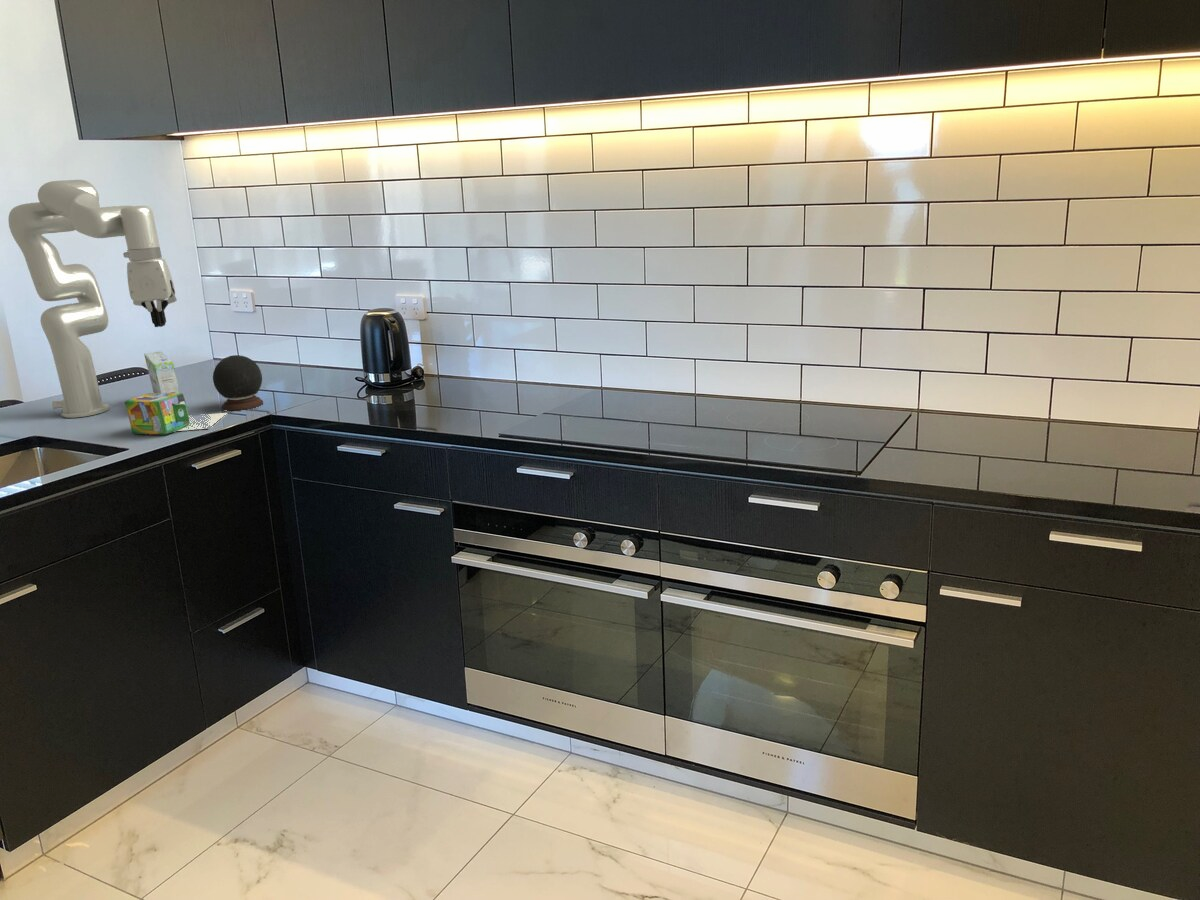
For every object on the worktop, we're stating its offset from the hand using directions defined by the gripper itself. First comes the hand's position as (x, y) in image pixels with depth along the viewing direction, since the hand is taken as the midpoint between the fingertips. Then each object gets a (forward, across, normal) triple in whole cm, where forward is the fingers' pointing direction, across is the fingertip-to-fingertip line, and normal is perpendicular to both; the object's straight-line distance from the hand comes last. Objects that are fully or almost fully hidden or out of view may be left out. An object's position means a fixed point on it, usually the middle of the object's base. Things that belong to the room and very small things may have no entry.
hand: (160, 326), depth 243 cm
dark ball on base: (+27, +12, +16) cm, 34 cm away
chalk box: (+22, -9, -3) cm, 24 cm away
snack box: (+27, -12, +24) cm, 38 cm away
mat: (+27, +2, 0) cm, 27 cm away
